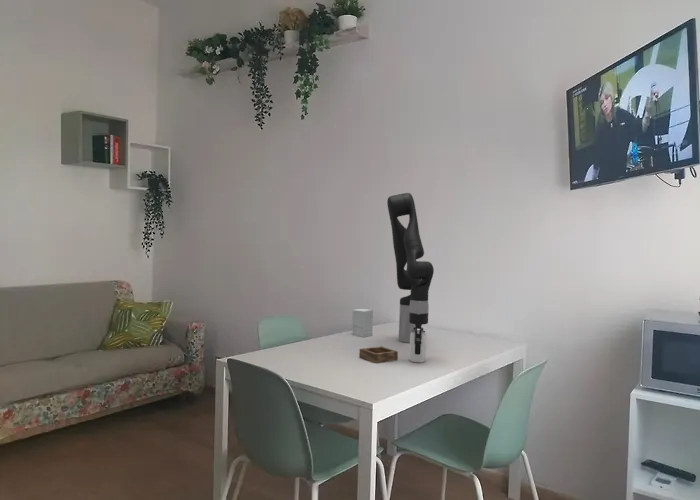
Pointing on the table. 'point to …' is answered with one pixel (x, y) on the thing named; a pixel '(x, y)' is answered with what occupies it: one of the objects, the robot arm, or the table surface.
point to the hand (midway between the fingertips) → (417, 351)
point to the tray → (378, 354)
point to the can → (413, 356)
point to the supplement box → (362, 322)
